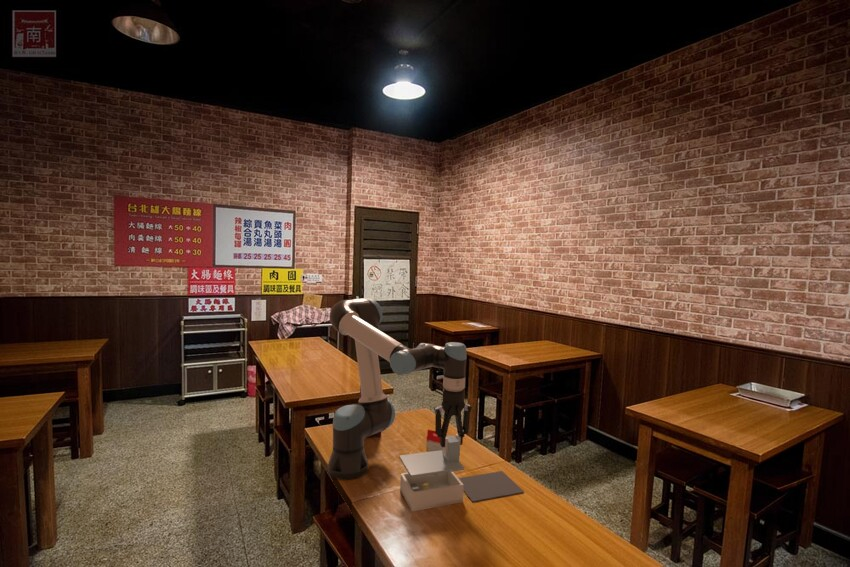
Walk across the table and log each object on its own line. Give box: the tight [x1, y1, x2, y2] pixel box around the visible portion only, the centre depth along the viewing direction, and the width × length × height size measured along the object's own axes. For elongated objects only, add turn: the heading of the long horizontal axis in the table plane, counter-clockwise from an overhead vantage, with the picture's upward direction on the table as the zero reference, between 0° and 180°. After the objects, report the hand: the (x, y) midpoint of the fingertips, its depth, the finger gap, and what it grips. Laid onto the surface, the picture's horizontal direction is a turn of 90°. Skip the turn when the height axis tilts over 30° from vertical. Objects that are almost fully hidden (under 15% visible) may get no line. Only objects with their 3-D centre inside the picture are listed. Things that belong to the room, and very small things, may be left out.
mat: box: [458, 470, 525, 503], centre depth 150 cm, size 20×15×1 cm
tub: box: [399, 471, 464, 512], centre depth 142 cm, size 18×13×6 cm
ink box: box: [425, 429, 443, 452], centre depth 163 cm, size 8×5×15 cm, turn 65°
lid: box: [398, 435, 465, 478], centre depth 142 cm, size 19×14×9 cm
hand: (451, 454), depth 144 cm, fingers closed on lid, 4 cm apart
